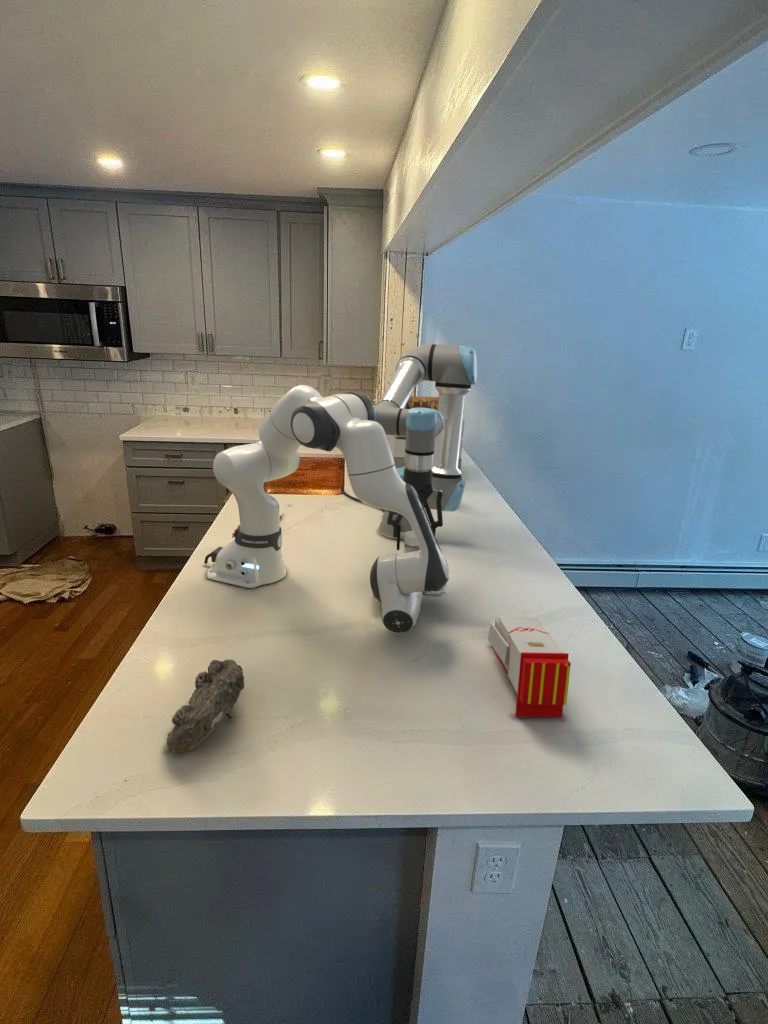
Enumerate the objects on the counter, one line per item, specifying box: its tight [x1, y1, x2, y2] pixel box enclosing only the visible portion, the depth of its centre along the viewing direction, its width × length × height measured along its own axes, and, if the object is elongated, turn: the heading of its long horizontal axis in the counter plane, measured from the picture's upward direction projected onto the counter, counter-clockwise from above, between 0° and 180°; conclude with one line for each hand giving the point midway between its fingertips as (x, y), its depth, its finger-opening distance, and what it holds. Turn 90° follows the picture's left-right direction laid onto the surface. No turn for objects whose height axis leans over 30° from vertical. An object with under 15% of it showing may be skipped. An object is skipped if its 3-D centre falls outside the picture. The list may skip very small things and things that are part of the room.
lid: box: [402, 531, 419, 546], centre depth 154 cm, size 6×6×2 cm
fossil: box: [166, 658, 245, 754], centre depth 106 cm, size 22×10×15 cm
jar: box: [403, 542, 420, 553], centre depth 157 cm, size 5×5×16 cm
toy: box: [487, 616, 572, 718], centre depth 123 cm, size 12×13×30 cm
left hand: (411, 568), depth 159 cm, fingers closed on jar, 5 cm apart
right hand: (413, 548), depth 156 cm, fingers open, 8 cm apart
